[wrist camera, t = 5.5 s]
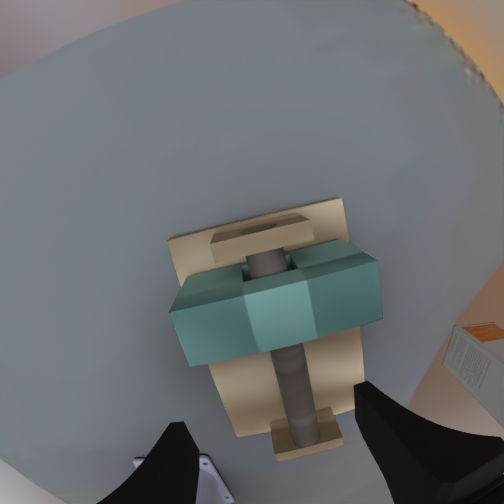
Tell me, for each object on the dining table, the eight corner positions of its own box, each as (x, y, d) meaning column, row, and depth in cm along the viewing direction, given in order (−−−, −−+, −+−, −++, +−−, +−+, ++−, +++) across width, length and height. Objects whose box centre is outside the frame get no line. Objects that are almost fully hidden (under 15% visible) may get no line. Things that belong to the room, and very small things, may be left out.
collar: (348, 284, 19) (382, 318, 14) (200, 320, 19) (189, 367, 14) (341, 238, 18) (377, 260, 13) (186, 276, 18) (169, 312, 13)
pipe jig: (362, 399, 23) (381, 434, 19) (237, 430, 23) (237, 470, 19) (337, 197, 19) (365, 203, 15) (169, 238, 19) (150, 255, 15)
